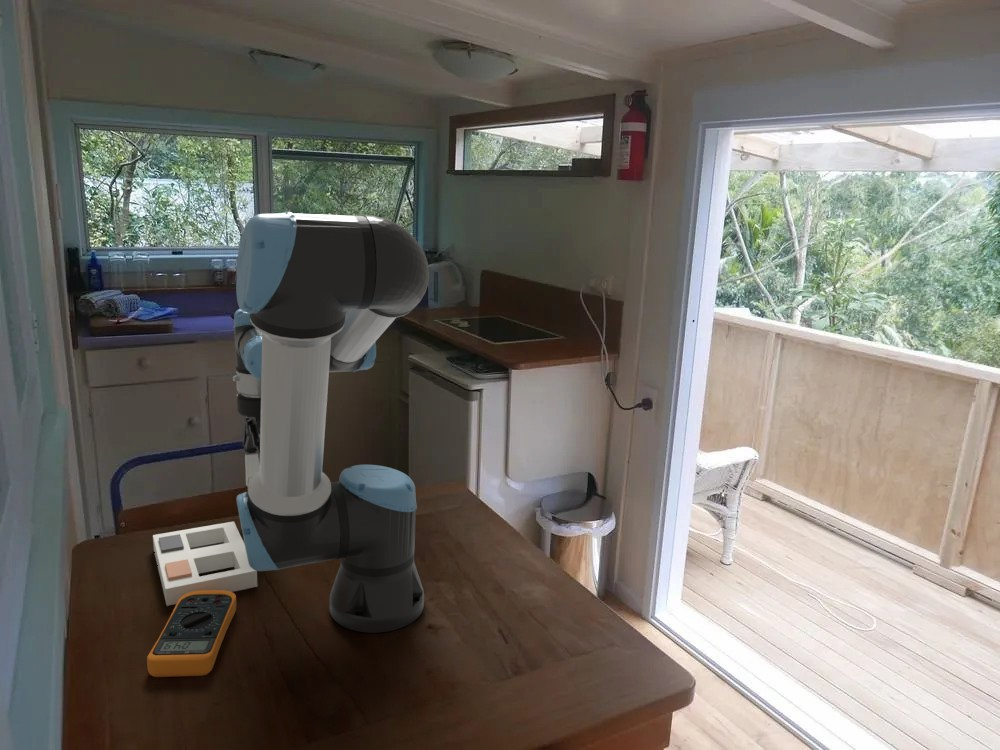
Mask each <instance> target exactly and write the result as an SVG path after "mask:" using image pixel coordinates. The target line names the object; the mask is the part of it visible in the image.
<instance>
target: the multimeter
mask: <svg viewBox="0 0 1000 750" xmlns="http://www.w3.org/2000/svg"><path fill="white" fill-rule="evenodd" d="M236 611H237V596H236V594H235V593H234V592H231V591H226V590H199V591H193V592H189V593H187V594H185V595H183V596H182V597H181V598H180V599H179V600H178V602H177V604H175V607H174V608H173V610H172V612H171V615H170V616H169V618H168V620H167V622H166V624H165V626H164V627H163V629H162V631H161V633H160V635H159V637H158V638H157V640H156V641H155V643H154V645H153V646H152V649H150V651H149V653H148V655H147V657H146V664H147V665H146V666H147V671H148V674H149V675H150V676H152V677H154V678H167V677H169V678H170V677H171V678H173V677H175V678H176V677H200V676H201V677H202V676H206V675H209V674H210V673H211V671H212V670H213V669H214V665H215V663H216V660H217V657H218V654H219V651H220V648H221V646H222V643H223V641H224V638H225V636H226V633H227V630H228V629H229V626H230V624H231V623H232V620H233V618H234V616H235V613H236Z"/></svg>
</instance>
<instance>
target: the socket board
mask: <svg viewBox="0 0 1000 750" xmlns="http://www.w3.org/2000/svg"><path fill="white" fill-rule="evenodd" d="M152 542H153V544H152V545H153V552H155V553H154V557H155V561H156V565H158V566H157V570H158V574H159V577H160V582H161V583H160V584H161V587H162V593H163V597H164V601H165V604H166V607H168V606H173V605H176V604H177V602H178V600H179V599H180V598H181V597H182V596H183V595H185V594H187V593H189V592H193V591H199V590H226V591H231V592H233V593H234V592H238V591H239V592H240V591H243V590H248V589H253V588H257V587H258V571H256V570H254V569H252V568H251V567H250V565H249V563H248V558H247V553H246V548H245V543H244V539H243V537H242V536H241V534H240V532H239V529H238V528H237V525H236V523H235V521H228V522H224V523H216V524H211V525H205V526H199V527H192V528H187V529H182V530H181V529H180V530H176V531H170V532H164V533H157V534H153V535H152ZM228 568H233V569H231V570H227V571H221V572H216V573H211V574H207V575H206V574H205V573H209V572H213V571H219V570H224V569H228ZM199 574H205V575H202V576H200V575H199Z"/></svg>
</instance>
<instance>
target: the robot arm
mask: <svg viewBox="0 0 1000 750" xmlns="http://www.w3.org/2000/svg"><path fill="white" fill-rule="evenodd" d="M237 253H238V254H237V259H236V260H237V262H236V281H235V282H236V284H235V289H236V290H235V291H236V294H235V295H236V301H237V302H236V303H237V306H238V307H239V308H238V309H237V310H236V311H235V312H234V314H233V318H234V319H233V326H232V328H233V330H234V333H233V334H234V351H235V353H234V354H235V373H236V375H234V376H232V381H233V382H236V391H237V392H238V393H237V394H236V411H237V413H238V414H239V415H241V416H242V417H244V419H243V429H242V430H243V432H242V442H241V445H242V447H243V451H244V461H245V462H244V464H245V485H246V486H247V491H244V492H242V493H239V494H238V495H237V496H236V506H237V509H238V510H237V512H238V517H239V523H240V526H241V527H240V528H241V531H242V536H243V537H242V539H243V542H244V544H245V548H246V553H247V558H248V563H249V565H250V567H251V568H252V569H254V570H256V571H257V572H265V571H266V572H269V571H279V570H280V571H282V570H284V569H289V568H295V567H299V566H306V565H312V564H316V563H323V562H328V561H334V560H340V566H339V568H338V571H337V573H336V577H335V580H334V581H333V585H332V587H331V591H330V594H329V613H330V616H331V618H332V619H333V620H334V621H335V622H336V623H337V624H339V626H341V627H344V628H346V629H349V630H352V631H354V632H361V633H369V634H375V633H380V634H381V633H386V632H393V631H396V630H400V629H402V628H404V627H406V626H409V625H410V624H412V623H414V621H416V620H417V619H418V618H420V616H421V614H422V613H423V610H424V606H425V593H424V588H423V584H422V581H421V578H420V576H419V573H418V570H417V566H416V564H415V549H416V548H415V545H416V544H415V543H416V542H415V539H416V518H417V517H416V514H417V512H416V511H417V509H418V505H417V500H416V499H417V497H416V485H415V483H414V482H413V480H412V479H411V478H410V476H408V475H407V474H406V473H404V472H402V471H400V470H398V469H395V468H392V467H388V466H384V465H378V464H355V465H352V466H349V467H346V468H344V469H343V470H342V471H341V472H340V475H339V478H338V479H339V481H334V482H331V480H330V478H329V477H328V476H327V474H326V473H325V472H323V463H324V462H323V461H324V450H325V449H324V448H325V437H326V436H325V435H326V434H325V432H326V421H327V420H326V418H327V403H328V394H329V393H328V392H329V391H328V389H329V373H341V372H351V373H355V372H359V371H365V370H366V371H367V370H369V369H371V368H373V366H374V365H375V362H376V361H375V360H376V357H377V345H376V342H377V341H378V339H379V338H380V337H381V336H382V334H384V332H386V330H387V329H388V328H389V327H390V325H391V324H392V323H394V321H395V319H397V318H400V317H404V316H406V315H408V314H409V313H410V312H412V311H413V310H414V309H415V308H416V307H417V306H418V304H419V303H420V302H421V301H422V299H423V297H424V296H425V294H426V292H427V288H428V285H429V280H430V270H429V262H428V259H427V257H426V254H425V251H424V249H423V248H422V246H421V245H420V244H419V242H418V240H417V239H416V237H414V236H413V235H412V234H411V233H410V232H409V231H408V230H406V229H405V228H404V227H403V226H401V225H399V223H396V222H395V221H393V220H389V219H387V218H384V217H380V216H375V215H364V214H363V215H353V214H352V215H349V214H348V215H347V214H345V215H342V214H319V213H318V214H317V213H315V214H313V213H293V212H292V211H284V212H280V213H278V212H277V213H258V214H256V215H254V216H252V217H251V218H249V219H248V221H247V222H246V224H245V226H244V228H243V230H242V234H241V237H240V241H239V247H238V251H237ZM248 477H252V479H251V481H250V483H249V487H248Z"/></svg>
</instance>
